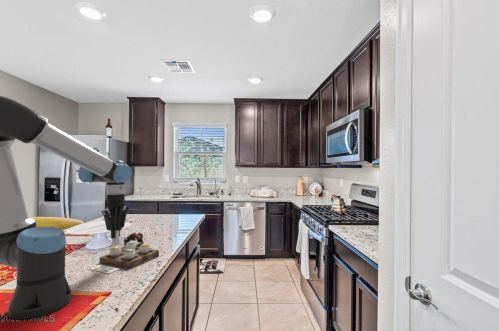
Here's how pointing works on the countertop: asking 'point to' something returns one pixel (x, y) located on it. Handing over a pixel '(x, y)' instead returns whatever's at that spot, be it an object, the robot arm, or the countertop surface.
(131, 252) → the button inner right
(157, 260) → the countertop surface
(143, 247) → the button outer right
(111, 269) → the pattern card
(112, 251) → the button inner left
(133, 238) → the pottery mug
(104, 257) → the button board
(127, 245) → the button outer left
